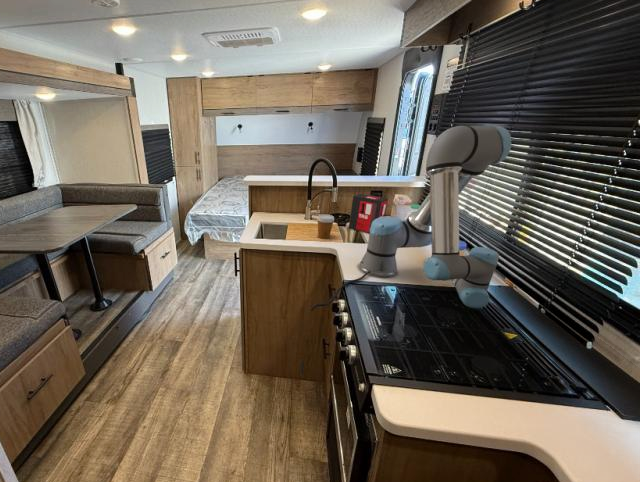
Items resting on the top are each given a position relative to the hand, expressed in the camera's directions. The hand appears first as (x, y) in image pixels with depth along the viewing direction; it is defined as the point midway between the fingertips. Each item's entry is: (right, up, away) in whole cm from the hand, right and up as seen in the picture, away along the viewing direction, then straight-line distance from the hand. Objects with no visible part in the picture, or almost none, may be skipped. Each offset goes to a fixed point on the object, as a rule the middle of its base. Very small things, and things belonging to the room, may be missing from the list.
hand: (451, 256), depth 131 cm
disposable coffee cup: (-43, +11, +44) cm, 62 cm away
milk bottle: (+2, +8, +38) cm, 39 cm away
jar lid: (+1, +6, +1) cm, 6 cm away
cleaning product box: (-15, +15, +54) cm, 58 cm away
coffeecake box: (+5, +16, +56) cm, 58 cm away
